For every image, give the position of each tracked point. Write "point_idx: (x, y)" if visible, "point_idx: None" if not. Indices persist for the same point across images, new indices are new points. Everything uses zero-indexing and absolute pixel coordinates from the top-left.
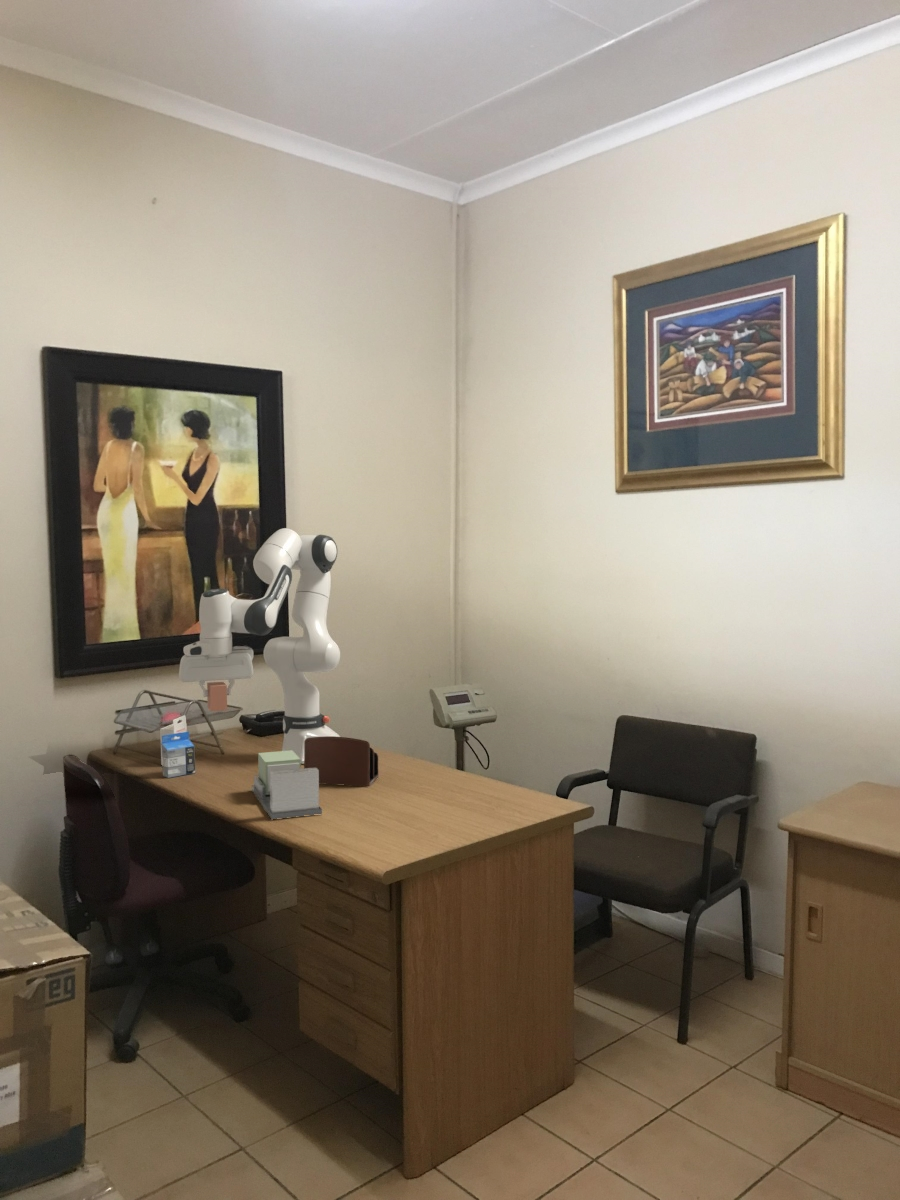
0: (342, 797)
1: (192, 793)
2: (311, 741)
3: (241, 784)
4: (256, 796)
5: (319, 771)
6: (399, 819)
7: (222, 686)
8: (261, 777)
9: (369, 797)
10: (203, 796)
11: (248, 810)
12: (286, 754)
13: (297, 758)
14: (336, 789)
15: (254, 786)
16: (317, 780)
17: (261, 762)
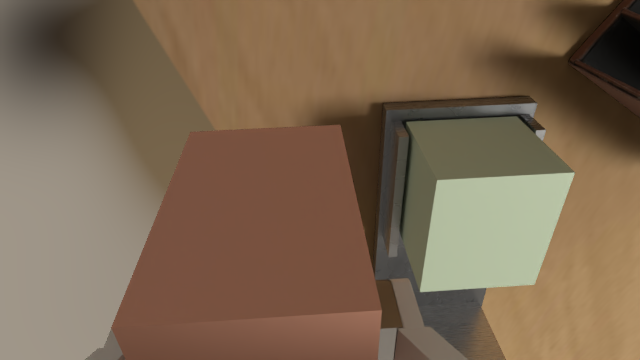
0: (575, 224)
1: (191, 77)
2: None
3: (366, 12)
4: (379, 176)
5: (629, 103)
6: (582, 354)
7: None
8: (410, 189)
9: (628, 239)
10: (229, 121)
11: None
12: (523, 224)
13: (530, 276)
14: (606, 159)
15: (390, 125)
16: None
17: (423, 224)
